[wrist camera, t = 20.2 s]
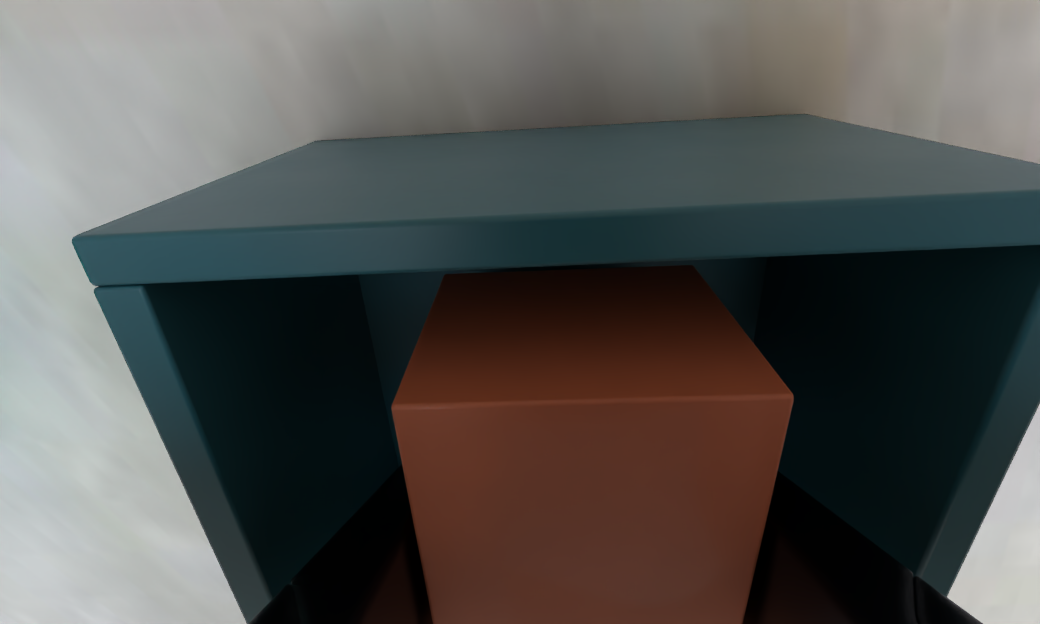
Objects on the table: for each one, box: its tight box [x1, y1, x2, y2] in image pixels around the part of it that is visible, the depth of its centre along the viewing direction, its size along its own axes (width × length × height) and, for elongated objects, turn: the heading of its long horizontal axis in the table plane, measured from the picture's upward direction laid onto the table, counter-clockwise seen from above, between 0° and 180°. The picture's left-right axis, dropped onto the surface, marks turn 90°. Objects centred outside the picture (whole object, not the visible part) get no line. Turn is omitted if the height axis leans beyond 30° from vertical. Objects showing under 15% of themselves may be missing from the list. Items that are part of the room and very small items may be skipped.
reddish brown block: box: [391, 265, 794, 624], centre depth 9 cm, size 6×4×4 cm
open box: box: [72, 114, 1040, 624], centre depth 11 cm, size 7×11×10 cm
